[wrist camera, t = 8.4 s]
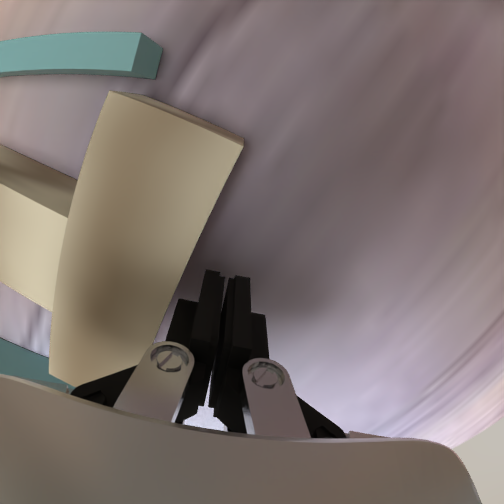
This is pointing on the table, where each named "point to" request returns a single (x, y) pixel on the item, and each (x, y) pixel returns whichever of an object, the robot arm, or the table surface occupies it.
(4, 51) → the dock
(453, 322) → the table surface
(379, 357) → the table surface
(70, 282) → the tee block
